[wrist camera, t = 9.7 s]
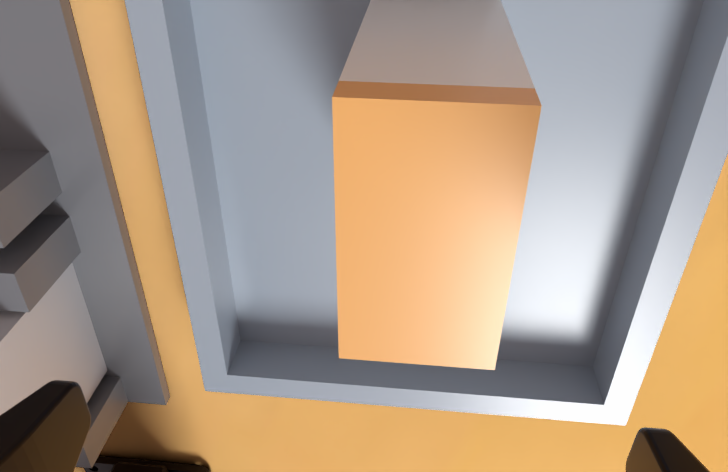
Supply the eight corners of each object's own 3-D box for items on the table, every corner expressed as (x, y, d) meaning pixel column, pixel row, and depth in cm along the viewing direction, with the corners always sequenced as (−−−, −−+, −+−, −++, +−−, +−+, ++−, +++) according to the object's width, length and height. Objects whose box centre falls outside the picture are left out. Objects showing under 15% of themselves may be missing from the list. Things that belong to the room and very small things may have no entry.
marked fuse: (475, 189, 20) (494, 370, 13) (371, 183, 20) (338, 357, 13) (498, -5, 16) (541, 105, 10) (373, -8, 17) (331, 97, 10)
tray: (609, 375, 24) (625, 425, 22) (224, 346, 26) (205, 390, 24) (885, -466, 12) (983, -530, 10) (89, -439, 13) (23, -491, 11)
